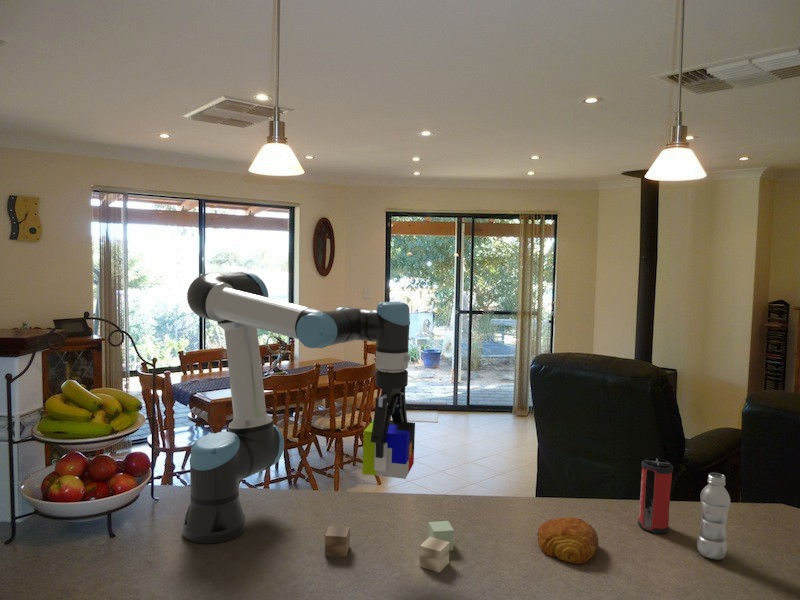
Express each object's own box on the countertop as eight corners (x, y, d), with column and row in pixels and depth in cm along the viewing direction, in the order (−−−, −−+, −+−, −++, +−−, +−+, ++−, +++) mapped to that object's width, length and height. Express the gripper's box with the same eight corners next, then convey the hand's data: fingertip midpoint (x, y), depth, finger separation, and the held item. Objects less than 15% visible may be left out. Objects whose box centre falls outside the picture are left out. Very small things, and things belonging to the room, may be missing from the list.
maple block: (419, 566, 132) (420, 545, 132) (429, 557, 137) (430, 536, 136) (439, 573, 130) (440, 551, 130) (448, 563, 134) (449, 542, 134)
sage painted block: (433, 551, 139) (433, 531, 139) (428, 541, 144) (428, 522, 144) (453, 550, 140) (453, 530, 140) (447, 540, 145) (448, 520, 145)
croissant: (600, 550, 146) (603, 518, 147) (592, 571, 132) (596, 536, 133) (542, 535, 153) (545, 505, 153) (529, 554, 139) (532, 520, 139)
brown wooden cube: (324, 556, 136) (325, 535, 135) (328, 545, 141) (329, 525, 140) (345, 557, 135) (346, 536, 135) (349, 547, 140) (349, 526, 140)
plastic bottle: (723, 552, 143) (729, 472, 141) (728, 565, 136) (735, 482, 135) (694, 547, 145) (699, 468, 143) (698, 560, 139) (704, 478, 137)
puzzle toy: (405, 478, 131) (407, 435, 130) (362, 473, 133) (363, 430, 132) (413, 463, 141) (415, 422, 140) (373, 459, 143) (374, 419, 142)
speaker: (670, 536, 150) (675, 468, 149) (638, 531, 153) (642, 464, 151) (667, 524, 157) (672, 459, 156) (637, 518, 160) (641, 454, 159)
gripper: (389, 380, 123) (386, 482, 125) (422, 362, 144) (419, 449, 146) (356, 376, 125) (354, 477, 127) (393, 359, 147) (390, 445, 149)
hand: (389, 462), depth 137 cm, fingers closed on puzzle toy, 10 cm apart
